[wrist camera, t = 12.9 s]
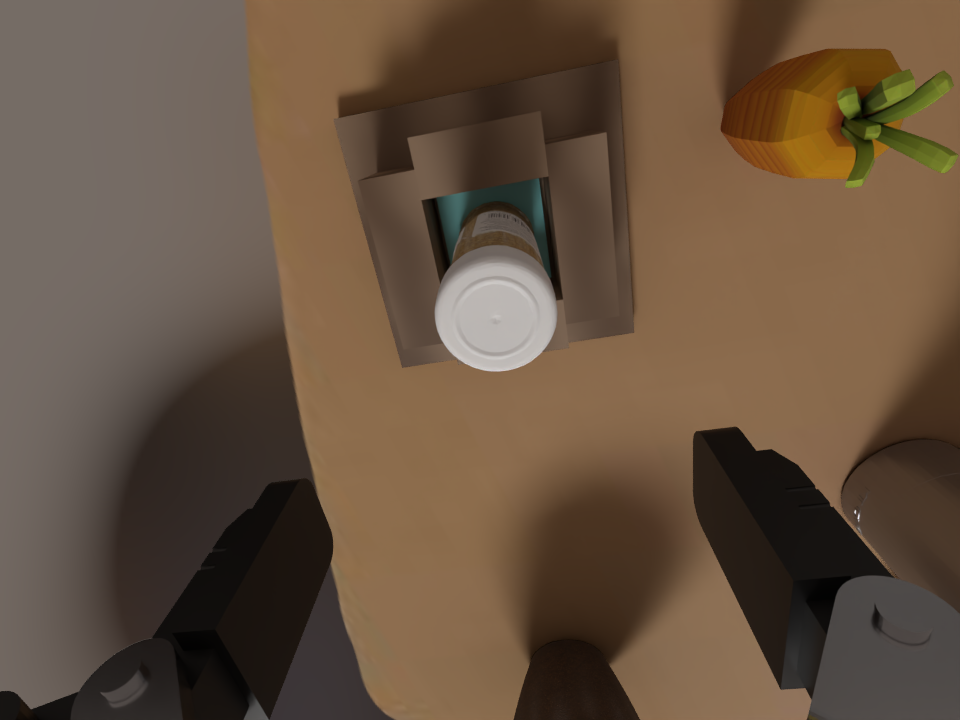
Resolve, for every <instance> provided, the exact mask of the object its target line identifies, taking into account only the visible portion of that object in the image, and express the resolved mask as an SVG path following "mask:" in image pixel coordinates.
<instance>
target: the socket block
mask: <svg viewBox="0 0 960 720" xmlns="http://www.w3.org/2000/svg"><path fill="white" fill-rule="evenodd" d="M333 120H334V123H335V127H336V130H337V134H338V138H339V141H340V145H341V148H342V152H343V156H344V159H345V163H346V166H347V170H348V174H349V177H350V181H351V184H352V188H353V192H354V195H355V199H356V202H357V206H358V210H359V213H360V217H361V221H362V224H363V228H364V231H365V235H366V239H367V242H368V246H369V249H370V253H371V257H372V260H373V264H374V267H375V271H376V275H377V278H378V282H379V285H380V289H381V293H382V296H383V300H384V303H385V307H386V311H387V314H388V318H389V321H390V325H391V329H392V332H393V336H394V339H395V343H396V347H397V350H398V354H399V357H400V361H401V365H402V368H403V367H410V366H416V365H423V364H430V363H436V362H443V361H450V360H456V359H457V362H458V365H459V364H465V363H464V362H462V361H460V360H459V359H458V358H456V357H455V356H454V355H453V354H452V353H451V352H450V351H449V350H448V349H447V348H446V346H445V345H444V343H443V342H442V340H441V338H440V336H439V333H438V331H437V327H436V322H435V303H436V299H437V294H438V290H439V287H440V284H441V281H442V279H443V277H444V275H445V273H446V272H447V270H448V269H449V268H450V266H451V264H450V260H449V255H448V250H447V245H446V241H445V236H444V231H443V227H442V222H441V217H440V212H439V208H438V203H437V198H436V197H441V196H447V195H452V194H457V193H462V192H468V191H473V190H478V189H484V188H489V187H494V186H500V185H505V184H510V183H516V182H521V181H526V180H532V179H537V178H539V183H540V191H541V199H542V207H543V215H544V222H545V230H546V238H547V246H548V254H549V262H550V270H551V278H550V281H551V283H552V286H553V290H554V293H555V297H556V303H557V313H558V314H557V323H556V328H555V331H554V334H553V336H552V338H551V340H550V342H549V343H548V345H547V346H546V348H545V349H544V350H543V351H542V352H546V351H552V350H559V349H566V348H569V344H568V343H569V342H575V341H582V340H589V339H595V338H602V337H609V336H615V335H622V334H629V333H634V323H633V306H632V288H631V271H630V254H629V236H628V219H627V202H626V184H625V167H624V150H623V132H622V115H621V98H620V80H619V63H618V59H617V60H612V61H608V62H603V63H598V64H593V65H589V66H584V67H579V68H574V69H570V70H565V71H560V72H555V73H551V74H546V75H541V76H536V77H532V78H527V79H522V80H517V81H513V82H508V83H503V84H498V85H494V86H489V87H484V88H479V89H475V90H470V91H465V92H460V93H456V94H451V95H446V96H441V97H437V98H432V99H427V100H422V101H418V102H413V103H408V104H403V105H399V106H394V107H389V108H384V109H380V110H375V111H370V112H365V113H361V114H356V115H351V116H346V117H342V118H337V119H333Z"/></svg>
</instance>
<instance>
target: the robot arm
mask: <svg viewBox="0 0 960 720" xmlns="http://www.w3.org/2000/svg"><path fill="white" fill-rule="evenodd" d="M693 496H694V504H695V508H696V513H697V516H698V519H699V522H700V524H701V527H702V529H703V531H704V533H705V535H706V537H707V539H708V541H709V543H710V545H711V547H712V549H713V551H714V553H715V555H716V557H717V560H718V562H719V564H720V566H721V568H722V570H723V572H724V574H725V576H726V578H727V580H728V582H729V584H730V586H731V588H732V590H733V592H734V594H735V597H736V599H737V601H738V603H739V605H740V607H741V609H742V611H743V613H744V615H745V617H746V619H747V621H748V623H749V625H750V627H751V629H752V632H753V634H754V636H755V638H756V640H757V642H758V644H759V646H760V648H761V650H762V652H763V654H764V656H765V658H766V660H767V662H768V664H769V666H770V669H771V671H772V673H773V675H774V677H775V679H776V681H777V683H778V685H779V687H780V689H781V690H782V689H798V688H806V690H807V692H808V694H809V696H810V698H811V700H812V701H811V706H810V710H809V714H808V718H807V720H960V449H958V448H956V447H954V446H952V445H951V444H949V443H946V442H942V441H938V440H926V439H921V440H912V441H906V442H903V443H899V444H895V445H892V446H890V447H888V448H885V449H883V450H881V451H879V452H877V453H876V454H874V455H872V456H871V457H869V458H868V459H867V460H865V461H864V462H863V463H862V464H861V465H859V466H858V467H857V468H856V470H855V471H854V472H853V473H852V474H851V475H850V477H849V479H848V480H847V482H846V484H845V486H844V489H843V492H842V497H841V505H842V508H843V511H844V514H845V515H846V517H847V518H848V519H849V521H850V522H851V523H852V524H853V525H854V526H855V528H856V529H857V530H858V532H859V533H860V534H861V535H862V536H863V537H864V538H865V539H866V540H867V541H868V543H869V544H870V545H871V546H872V547H873V548H874V550H875V551H876V552H877V553H878V554H879V556H880V557H881V558H882V559H883V560H884V561H885V563H886V564H887V565H888V566H889V567H890V568H891V570H892V571H893V572H894V573H895V574H896V575H897V576H898V578H899V579H896V578H894V577H893V576H892V575H891V574H890V573H889V572H888V571H887V569H886V568H885V567H884V566H883V565H882V563H881V562H880V561H879V560H878V559H877V558H876V556H875V555H874V554H873V553H872V552H871V551H870V549H869V548H868V547H867V546H866V545H865V544H864V542H863V541H862V540H861V539H860V538H859V536H858V535H857V534H856V533H855V532H854V531H853V529H852V528H851V527H850V526H849V525H848V524H847V522H846V521H845V520H844V519H843V518H842V516H841V515H840V514H839V513H838V512H837V511H836V509H835V508H834V507H831V506H830V502H829V501H828V500H827V499H826V498H825V497H824V495H823V494H822V493H821V492H820V491H819V489H817V490H816V488H815V485H814V484H813V482H812V481H811V480H810V479H809V478H808V477H807V475H806V474H805V473H804V472H803V471H802V469H801V468H800V467H799V466H798V465H797V464H795V463H794V462H792V461H790V460H789V459H787V458H785V457H784V456H782V455H780V454H779V453H777V452H775V451H774V450H772V449H770V450H761V451H756V450H755V449H754V447H753V446H752V445H751V443H750V442H749V441H748V439H747V438H746V437H745V435H744V434H743V433H742V432H741V430H740V429H739V428H737V427H729V428H721V429H713V430H704V431H696V432H695V434H694V438H693ZM332 555H333V537H332V532H331V529H330V527H329V524H328V522H327V519H326V517H325V514H324V512H323V509H322V507H321V504H320V502H319V499H318V497H317V494H316V492H315V489H314V487H313V485H312V483H311V482H310V481H309V480H308V479H306V478H303V479H294V480H287V481H278V482H272V483H270V484H268V485H267V487H266V488H265V490H264V491H263V493H262V494H261V496H260V497H259V499H258V500H257V502H256V503H255V505H254V507H253V508H252V509H247V510H246V511H245V512H244V513H243V514H241V515H240V516H239V517H238V518H237V519H236V520H235V521H234V522H232V523H231V524H230V525H229V526H228V527H227V528H226V529H225V531H224V532H223V534H222V536H221V537H220V538H219V540H218V541H217V543H216V544H215V546H214V547H213V552H212V553H209V554H208V556H207V558H206V559H205V560H204V562H203V563H202V565H201V570H198V571H197V572H196V574H195V575H194V577H193V578H192V579H191V581H190V583H189V584H188V585H187V587H186V589H185V590H184V591H183V593H182V594H181V596H180V597H179V599H178V600H177V602H176V603H175V605H174V606H173V608H172V609H171V611H170V612H169V614H168V615H167V617H166V618H165V619H164V621H163V622H162V624H161V625H160V627H159V628H158V630H157V631H156V633H155V634H154V636H153V637H152V638H151V639H146V640H142V641H139V642H137V643H134V644H132V645H130V646H128V647H126V648H124V649H123V650H121V651H119V652H118V653H116V654H115V655H113V656H112V657H111V658H109V659H108V660H107V661H105V662H104V663H103V664H102V665H101V666H100V667H99V668H98V669H97V670H96V671H95V672H94V673H93V674H92V675H91V676H90V677H89V678H88V679H87V681H86V682H85V683H84V685H83V686H82V687H81V689H80V691H79V692H77V693H74V694H71V695H69V696H66V697H63V698H61V699H58V700H55V701H53V702H50V703H47V704H45V705H42V706H39V707H37V708H34V709H30V708H29V707H28V706H27V704H26V703H25V702H24V701H23V700H22V699H21V698H20V697H19V696H18V695H17V694H16V693H14V692H11V691H1V692H0V720H269V719H270V717H271V714H272V711H273V709H274V706H275V704H276V701H277V699H278V696H279V694H280V691H281V688H282V686H283V683H284V681H285V678H286V675H287V673H288V670H289V668H290V665H291V663H292V660H293V658H294V655H295V652H296V650H297V647H298V645H299V642H300V640H301V637H302V634H303V632H304V629H305V627H306V624H307V621H308V619H309V617H310V614H311V611H312V609H313V606H314V604H315V601H316V598H317V596H318V593H319V591H320V588H321V586H322V583H323V581H324V578H325V575H326V573H327V570H328V568H329V565H330V563H331V559H332Z"/></svg>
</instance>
